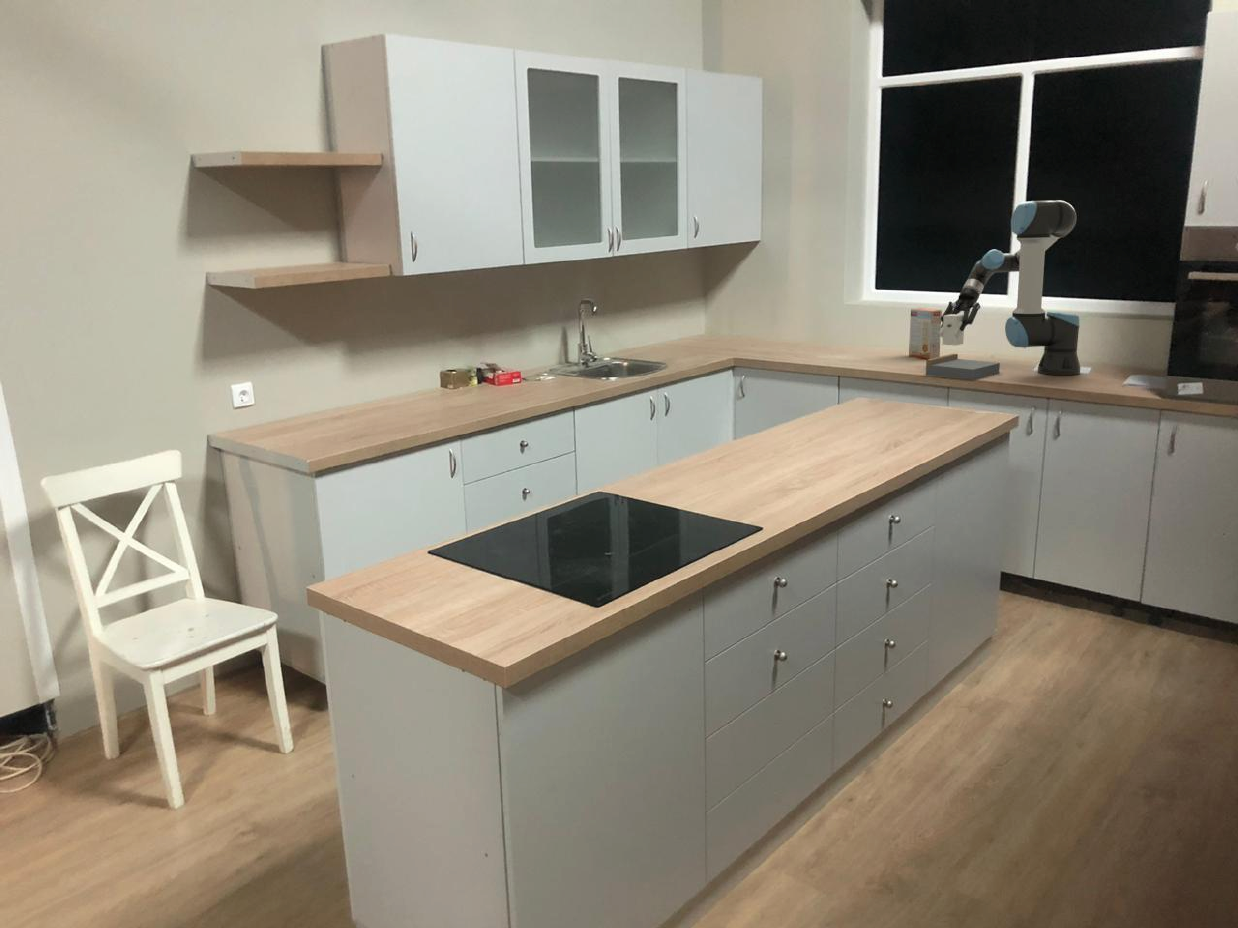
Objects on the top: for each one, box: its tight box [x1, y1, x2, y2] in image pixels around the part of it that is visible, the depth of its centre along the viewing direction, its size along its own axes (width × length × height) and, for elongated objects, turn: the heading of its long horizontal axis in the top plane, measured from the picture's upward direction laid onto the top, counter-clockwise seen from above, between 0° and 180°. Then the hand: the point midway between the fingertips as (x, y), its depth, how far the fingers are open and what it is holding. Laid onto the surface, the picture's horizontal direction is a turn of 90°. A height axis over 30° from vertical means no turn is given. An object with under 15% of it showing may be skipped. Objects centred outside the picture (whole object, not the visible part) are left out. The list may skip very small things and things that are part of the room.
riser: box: [925, 353, 1001, 381], centre depth 383 cm, size 20×20×6 cm
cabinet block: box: [942, 314, 965, 346], centre depth 404 cm, size 6×7×12 cm
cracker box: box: [908, 307, 943, 360], centre depth 426 cm, size 14×6×21 cm, turn 22°
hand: (948, 335), depth 403 cm, fingers closed on cabinet block, 6 cm apart
